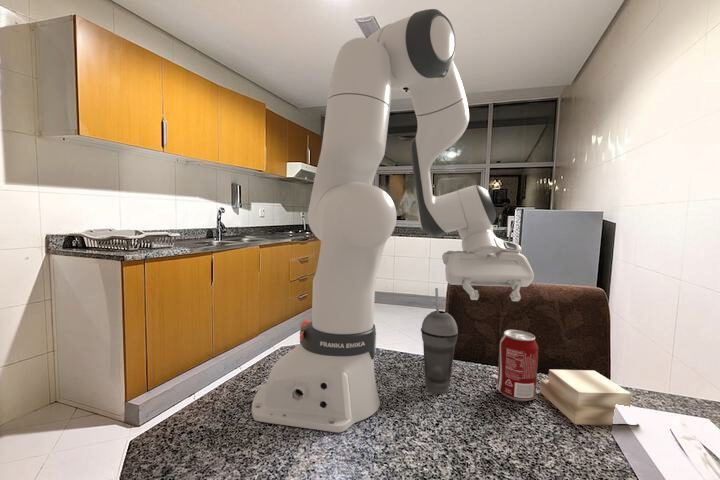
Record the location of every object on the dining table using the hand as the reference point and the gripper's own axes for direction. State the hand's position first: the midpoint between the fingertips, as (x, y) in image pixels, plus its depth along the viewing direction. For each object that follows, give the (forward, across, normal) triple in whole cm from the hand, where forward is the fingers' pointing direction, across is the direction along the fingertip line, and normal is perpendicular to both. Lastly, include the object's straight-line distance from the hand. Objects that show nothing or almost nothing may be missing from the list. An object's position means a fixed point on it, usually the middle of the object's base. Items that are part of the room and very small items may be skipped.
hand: (495, 299), depth 78 cm
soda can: (+20, 0, +4) cm, 20 cm away
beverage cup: (+18, -15, +5) cm, 24 cm away
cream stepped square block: (+22, +11, 0) cm, 25 cm away
